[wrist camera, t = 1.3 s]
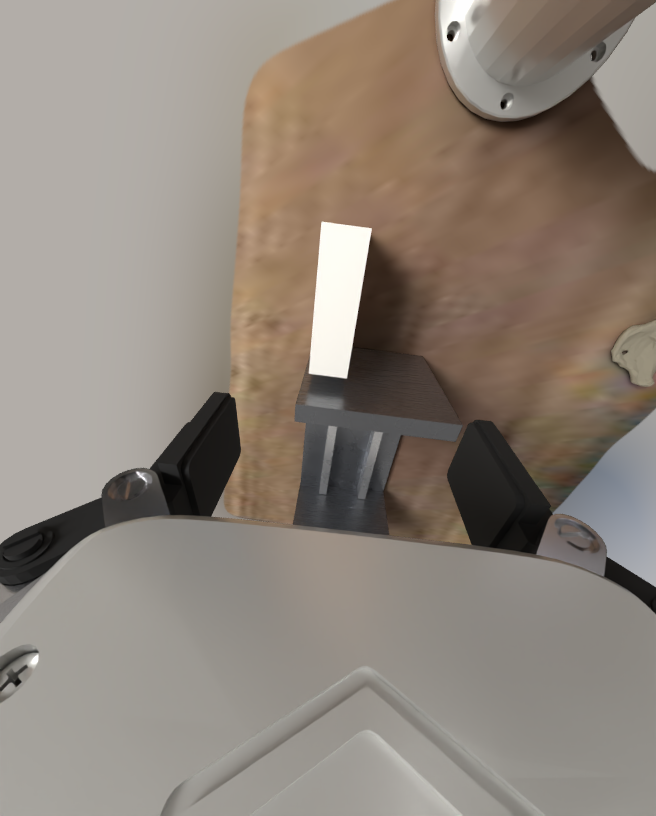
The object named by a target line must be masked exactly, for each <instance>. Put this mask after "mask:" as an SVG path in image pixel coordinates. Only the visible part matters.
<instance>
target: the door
mask: <svg viewBox="0 0 656 816" xmlns="http://www.w3.org/2000/svg"><path fill="white" fill-rule="evenodd" d="M371 230H372V229H371V228H364V227H357V226H349V225H342V224H334V223H327V222H322V224H321V236H320V248H319V259H318V271H317V283H316V295H315V306H314V318H313V330H312V341H311V353H310V365H309V374H315V375H323V376H331V377H339V378H347V375H348V369H349V363H350V357H351V351H352V344H353V338H354V332H355V326H356V320H357V314H358V308H359V302H360V296H361V290H362V284H363V278H364V272H365V266H366V260H367V254H368V248H369V242H370V236H371Z"/></svg>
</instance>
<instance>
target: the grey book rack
mask: <svg viewBox="0 0 656 816" xmlns="http://www.w3.org/2000/svg"><path fill="white" fill-rule="evenodd" d="M309 365H310V357H309V360H308V364H307V367H306V371H305V374H304V377H303V381H302V384H301V388H300V391H299V394H298V398H297V401H296V407H295V421H296V422H304V423H306V429H305V440H304V451H303V462H302V474H301V483H300V488H299V494H298V499H297V505H296V510H295V515H294V521H293V525H299V526H309V527H318V528H327V529H336V530H345V531H354V532H363V533H372V534H381V535H389V531H388V523H387V516H386V509H385V501H384V494H383V490H384V487H385V484H386V481H387V477H388V474H389V471H390V468H391V465H392V462H393V458H394V455H395V452H396V449H397V446H398V443H399V439H400V436H401V435H406V436H414V437H422V438H430V439H438V440H446V441H454V442H456V439H457V437H458V435H459V433H460V431H461V428H462V426H463V425H462V423H461V421H460V420H459V418H458V416H457V414H456V413H455V411H454V409H453V408H452V406H451V404H450V402H449V401H448V399H447V397H446V396H445V394H444V392H443V391H442V389H441V387H440V385H439V384H438V382H437V380H436V379H435V377H434V375H433V373H432V372H431V370H430V368H429V367H428V365H427V363H426V361H425V360H424V358H423V356H416V355H409V354H401V353H393V352H386V351H378V350H370V349H363V348H355V347H352V351H351V357H350V363H349V369H348V375H347V378H339V377H331V376H323V375H315V374H309Z"/></svg>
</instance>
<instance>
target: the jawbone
mask: <svg viewBox="0 0 656 816" xmlns="http://www.w3.org/2000/svg"><path fill="white" fill-rule="evenodd" d="M623 350H628V352H627V353H626V354H625V355H623V354H622V353H621V352H622V351H623ZM611 353H612V359H613V361H614V362H618V364H619V366H620V367H623V368H625V369H627V370H628V371H629V374H630V380H631V382H632V383H634V384H636V385H639V386H644V387H648V386H652V385H653V384H654V381H653V374H654V373H655V371H656V319H655V320H653V321H651V322H649V323H646V324H643V325H636V326H631V327H629V328H628V329H626V330H625V331H623V332H622V334H621V335H620V336H619V338H618V339H617V341H616V343H615V345H614V348H613V349H612V350H611Z"/></svg>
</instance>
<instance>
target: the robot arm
mask: <svg viewBox="0 0 656 816" xmlns="http://www.w3.org/2000/svg"><path fill="white" fill-rule="evenodd" d="M655 2H656V0H436V5H435V26H436V42H437V47H438V52H439V57H440V62H441V65H442V68H443V71H444V73H445V76H446V79H447V81H448V84H449V85H450V87H451V88H452V90H453V91H454V93H455V95H456V96H457V98H458V99H459V100H460V101H461V102H462V103H463V104H464V105H465V106H466V107H467V108H468V109H469V110H470V111H472V112H474V113H475V114H477V115H479V116H481V117H483V118H485V119H489V120H494V121H499V122H507V121H519V120H522V119H526V118H529V117H533V116H536V115H538V114H539V113H541V112H543V111H545V110H547V109H549V108H551V107H553V106H555V105H556V104H558V103H559V102H561V101H562V100H564V99H565V98H567V97H569V96H570V95H571V94H572V93H574V92H575V91H576V90H577V89H578V88H579V87H581V86H582V85H583V84H584V83H585V82H586V81H588V80H589V79H590V78H591V77H592V76H593V75H594V74H595V72H596V71H597V70H598V69H599V68H600V67H601V66H602V65H603V64H604V63H605V61H606V60H607V59H608V58H609V56H610V55H611V54H612V52H613V51H614V50H615V48H616V47H617V45H618V44H619V43H620V41H621V40H622V38H623V37H624V36H625V34H626V33H627V31H628V29H629V27H630V26H631V24H632V22H633V20H634V19H635V17H636V16H638V15H639V14H640V13H642V12H643V11H644V10H646V9H647V8H648V7H650V6H651V5H653V4H654V3H655ZM448 34H452V36H453V41H452V42H450V41H449V40H448V39H447V35H448ZM591 55H592V60H591V57H590V56H591ZM501 102H504V104H505V106H504V109H503V110H502V109H501V106H500V103H501ZM240 452H241V446H240V437H239V428H238V420H237V411H236V402H235V398H233V397H231V395H230V394H229V393H220V392H214V393H213V394H212V395H211V396H210V398H209V399H208V400H207V401H206V403H205V404H204V405H203V407H202V408H201V409H200V410H199V411H198V413H197V414H196V415H195V416H194V418H193V419H192V420H191V422H188V423H187V424H186V425H185V426H184V427H183V428H182V429H181V431H180V432H179V433H178V434H177V436H176V437H175V438H174V439H173V441H172V442H171V443H170V444H169V446H168V447H167V448H166V449H165V450H164V452H163V453H162V454H161V455H160V457H159V458H158V459H157V460H156V462H155V463H154V464H153V465H152V467H151V468H150V469H147V468H135V469H131V470H127V471H125V472H122V473H120V474H118V475H116V476H115V477H113V478H112V479H111V480H110V481H109V482H108V483H106V485H105V487H104V488H103V490H102V495H101V496H102V498H99V499H97V500H94V501H92V502H89V503H87V504H85V505H82V506H79V507H77V508H75V509H72V510H70V511H67V512H65V513H62V514H60V515H58V516H55V517H53V518H50V519H48V520H45V521H43V522H40V523H38V524H35V525H33V526H31V527H28V528H26V529H24V530H22V531H19V532H18V533H15V534H14V535H12V536H11V537H9V538H8V539H6V540H5V541H4V542H2V543H1V544H0V816H656V587H654V586H653V585H651V584H650V583H648V582H646V581H645V580H643V579H642V578H640V577H638V576H637V575H635V574H634V573H632V572H630V571H629V570H627V569H626V568H624V567H622V566H621V565H619V564H618V563H616V562H615V561H613V560H611V559H610V558H608V557H607V549H606V545H605V543H604V541H603V540H602V538H601V537H600V536H599V535H598V534H597V533H596V531H594V530H593V529H592V528H591V527H590V526H588V525H587V524H585V523H583V522H582V521H580V520H578V519H576V518H574V517H572V516H569V515H565V514H554V515H553V514H552V512H551V511H550V509H549V508H550V507H551V505H550V504H549V502H548V501H547V499H546V498H545V497H544V495H543V494H542V492H541V491H540V489H539V488H538V486H537V485H536V484H535V482H534V481H533V479H532V478H531V476H530V475H529V474H528V472H527V471H526V469H525V468H524V466H523V465H522V463H521V462H520V461H519V459H518V458H517V456H516V455H515V453H514V452H513V451H512V449H511V448H510V446H509V445H508V443H507V442H506V440H505V439H504V438H503V436H502V435H501V433H500V432H499V430H498V429H497V428H496V426H495V425H494V423H493V422H491V421H483V420H475V421H474V422H473V423H470V424H469V425H468V426H467V429H466V431H465V433H464V435H463V438H462V440H461V442H460V445H459V447H458V449H457V451H456V454H455V456H454V458H453V460H452V463H451V465H450V467H449V469H448V473H447V478H448V482H449V484H450V487H451V490H452V493H453V495H454V498H455V501H456V503H457V506H458V509H459V511H460V514H461V517H462V520H463V522H464V525H465V528H466V530H467V533H468V536H469V539H470V541H471V544H472V545H467V544H458V543H450V542H441V541H433V540H424V539H416V538H407V537H399V536H390V535H381V534H372V533H363V532H354V531H345V530H336V529H327V528H318V527H309V526H299V525H290V524H281V523H271V522H262V521H252V520H242V519H230V518H220V517H211V516H212V513H213V511H214V509H215V507H216V505H217V503H218V501H219V499H220V497H221V494H222V492H223V490H224V488H225V486H226V484H227V482H228V480H229V478H230V476H231V473H232V471H233V469H234V467H235V465H236V463H237V461H238V459H239V456H240Z"/></svg>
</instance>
